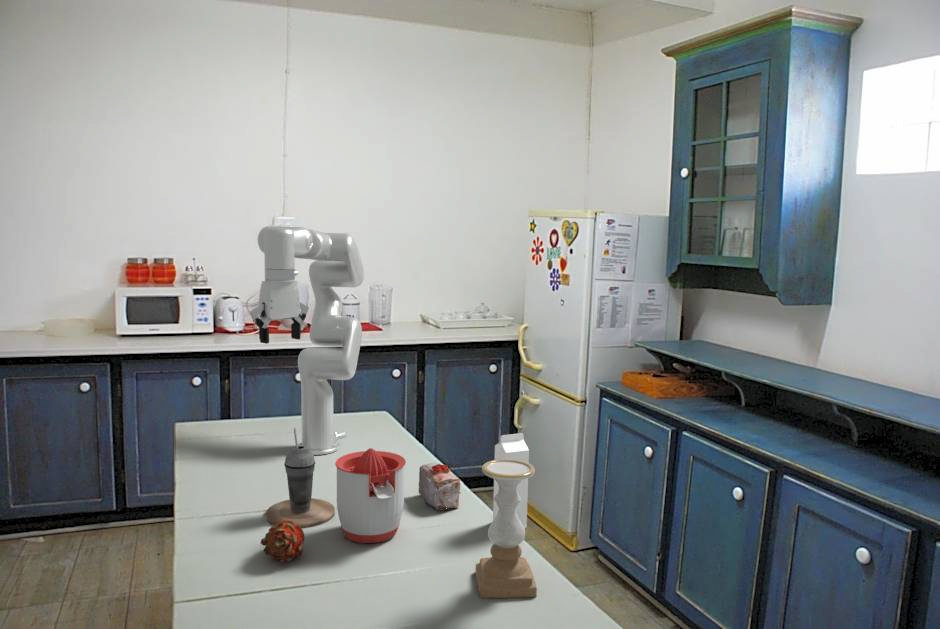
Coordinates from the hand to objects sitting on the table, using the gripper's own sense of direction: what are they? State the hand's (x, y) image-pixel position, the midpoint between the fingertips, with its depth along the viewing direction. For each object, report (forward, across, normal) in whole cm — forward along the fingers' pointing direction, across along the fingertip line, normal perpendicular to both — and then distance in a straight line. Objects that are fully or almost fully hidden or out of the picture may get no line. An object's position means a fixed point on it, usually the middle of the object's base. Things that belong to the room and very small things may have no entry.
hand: (280, 340), depth 196 cm
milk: (+38, -20, +62) cm, 76 cm away
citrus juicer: (+38, +6, +43) cm, 58 cm away
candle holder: (+38, +3, +79) cm, 88 cm away
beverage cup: (+37, +10, +22) cm, 44 cm away
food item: (+39, -19, +40) cm, 59 cm away
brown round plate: (+38, +10, +22) cm, 45 cm away
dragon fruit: (+39, +26, +38) cm, 60 cm away
